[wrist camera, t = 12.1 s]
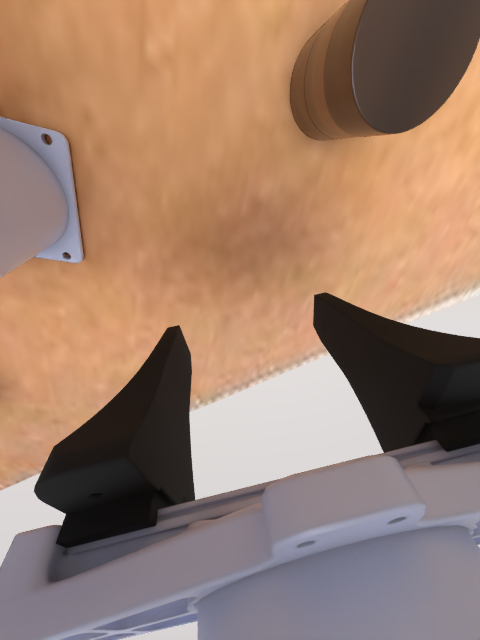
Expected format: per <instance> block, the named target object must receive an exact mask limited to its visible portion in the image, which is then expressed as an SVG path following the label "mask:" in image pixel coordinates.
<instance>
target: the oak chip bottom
mask: <svg viewBox="0 0 480 640" xmlns="http://www.w3.org/2000/svg"><path fill="white" fill-rule="evenodd" d="M328 21H329V20H328ZM328 21H327V22H328ZM327 22H326V23H327ZM326 23H325V24H326ZM325 24H324V25H323V26H322V27H321V28H320V29H319V30H318V31H317V32H316V33H315V34H314V35H313V36H312V37H311V38H310V39H309V40H308V42H307V43H306V44H305V46H304V47H303V49H302V50H301V52H300V54H299V56H298V58H297V61H296V63H295V66H294V70H293V73H292V78H291V85H290V103H291V109H292V113H293V116H294V119H295V121H296V123H297V125H298V126H299V128H300V129H301V130H302V131H303V132H304V133H305V134H306V135H307V136H309V137H310V138H313V139H316V140H332V139H337V138H332V137H329V136H327V135H325V134H323V133H322V132H321V131H320V130H319V129H318V128H317V127H316V126H315V124H314V123H313V121H312V119H311V117H310V115H309V112H308V109H307V105H306V99H305V75H306V68H307V64H308V59H309V56H310V53H311V50H312V48H313V45H314V43H315V41H316V39H317V37H318V35H319V33H320V32H321V30H322V29H323V27H324V26H325Z"/></svg>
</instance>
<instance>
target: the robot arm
mask: <svg viewBox="0 0 480 640" xmlns="http://www.w3.org/2000/svg"><path fill="white" fill-rule="evenodd" d="M46 134H48V135H49V136H50V137H51V139H52V143H51V144H48V143H47V142H46V141H45V135H46ZM65 252H66V253H69V254H70V256H71V257H67V256H66V255H65ZM33 257H36V258H43V259H50V260H57V261H64V262H71V263H80V262H81V261H82V260H83V259H84V254H83V247H82V239H81V232H80V224H79V216H78V209H77V201H76V194H75V186H74V179H73V171H72V163H71V156H70V148H69V143H68V140H67V138H66V137H65V136H64V135H63V134H62V133H60V132H58V131H54V130H50V129H46V128H43V127H39V126H35V125H31V124H27V123H23V122H20V121H16V120H12V119H8V118H4V117H1V116H0V278H2V277H3V276H5V275H7V274H8V273H10V272H11V271H13V270H14V269H16V268H17V267H19V266H20V265H22V264H23V263H25V262H27V261H28V260H30V259H31V258H33ZM313 326H314V328H315V330H316V332H317V334H318V336H319V338H320V340H321V342H322V343H323V345H324V346H325V347H326V349H327V350H328V352H329V353H330V355H331V356H332V357H333V359H334V360H335V362H336V363H337V365H338V366H339V367H340V369H341V370H342V372H343V373H344V375H345V376H346V378H347V379H348V381H349V383H350V385H351V387H352V388H353V390H354V392H355V394H356V396H357V398H358V400H359V402H360V404H361V405H362V407H363V409H364V411H365V413H366V415H367V417H368V419H369V421H370V423H371V426H372V428H373V429H374V432H375V434H376V436H377V438H378V440H379V443H380V445H381V447H382V450H383V452H384V453H382V454H378V455H371V456H366V457H361V458H357V459H353V460H349V461H345V462H341V463H337V464H333V465H330V466H326V467H321V468H318V469H313V470H310V471H306V472H301V473H297V474H294V475H290V476H287V477H285V478H282V479H278V480H274V481H270V482H266V483H262V484H258V485H254V486H250V487H246V488H242V489H238V490H234V491H230V492H227V493H222V494H218V495H214V496H210V497H206V498H202V499H199V500H195V493H194V483H193V471H192V458H191V443H190V424H189V407H190V392H191V375H192V367H191V354H190V351H189V349H188V346H187V344H186V341H185V339H184V336H183V333H182V331H181V328H180V326H179V325H178V326H174V327H169V328H167V330H166V331H165V333H164V334H163V336H162V337H161V339H160V341H159V342H158V344H157V345H156V347H155V348H154V350H153V351H152V353H151V354H150V356H149V357H148V359H147V360H146V361H145V363H144V364H143V365H142V367H141V368H140V370H139V371H138V372H137V373H136V375H135V376H134V377H133V378H132V379H131V380H130V381H129V383H128V384H127V385H126V386H125V387H124V388H123V389H122V390H121V391H120V392H119V393H118V394H117V395H116V396H115V397H114V398H113V399H112V400H111V401H110V402H109V403H108V404H107V405H106V406H105V407H104V408H102V409H101V410H100V411H99V412H98V413H97V414H96V415H94V416H93V417H92V418H91V419H90V420H88V421H87V422H86V423H85V424H83V425H82V426H81V427H80V428H78V429H77V430H76V431H74V432H73V433H72V434H70V435H69V436H68V437H66V438H65V439H64V440H62V441H61V442H60V443H58V444H57V445H55V446H54V448H53V449H52V451H51V454H50V456H49V458H48V460H47V462H46V464H45V466H44V468H43V470H42V472H41V474H40V477H39V479H38V481H37V483H36V485H35V489H34V492H35V494H36V496H37V497H38V499H40V500H41V501H42V502H44V503H46V504H48V505H50V506H52V507H54V508H56V509H58V510H59V511H61V512H63V513H65V514H66V516H65V519H64V521H63V525H62V526H61V525H51V526H46V527H42V528H38V529H34V530H30V531H26V532H22V533H19V534H17V535H16V536H15V537H14V540H13V542H12V544H11V546H10V548H9V550H8V552H7V554H6V557H5V559H4V561H3V563H2V565H1V567H0V640H118V639H123V638H127V637H131V636H136V635H140V634H144V633H148V632H153V631H157V630H161V629H166V628H170V627H174V626H179V625H183V624H187V623H192V622H196V621H198V640H480V548H479V547H478V546H477V545H478V544H480V338H473V337H465V336H458V335H452V334H446V333H441V332H436V331H431V330H427V329H423V328H418V327H414V326H410V325H407V324H403V323H400V322H397V321H393V320H390V319H387V318H384V317H382V316H379V315H376V314H374V313H371V312H369V311H366V310H364V309H361V308H359V307H357V306H355V305H352V304H350V303H348V302H346V301H344V300H342V299H340V298H337V297H335V296H333V295H331V294H328V293H326V292H325V293H321V294H317V295H314V320H313Z"/></svg>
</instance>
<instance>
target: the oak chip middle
mask: <svg viewBox="0 0 480 640" xmlns="http://www.w3.org/2000/svg"><path fill="white" fill-rule="evenodd" d="M349 2H350V0H348V1H347V2H346V3H345V4H344V5H343V6H342V7H341V8H340V9H339V10H338V11H337V12H336V13H335V14H334V15H333V16H332V17H331V18H330V19H329V21H328V22H327V23H326V24H325V26H324V27H323V29H322V30H321V32H320V33H319V35H318V37H317V39H316V41H315V43H314V45H313V48H312V50H311V53H310V56H309V59H308V64H307V68H306V75H305V99H306V105H307V109H308V112H309V115H310V117H311V119H312V121H313V123H314V124H315V126H316V127H317V128H318V129H319V130H320V131H321V132H322V133H323V134H325V135H327V136H329V137H332V138H337V139H342V138H353V137H357V136H353V135H350V134H348V133H346V132H345V131H343V130H342V129H341V128H340V127H339V126H338V125H337V124H336V122H335V121H334V119H333V118H332V116H331V114H330V111H329V108H328V105H327V102H326V97H325V89H324V71H325V62H326V56H327V51H328V47H329V43H330V40H331V37H332V34H333V32H334V29H335V27H336V25H337V22H338V20H339V18H340V16H341V15H342V13H343V11H344V9H345V8H346V6H347V5H348V3H349Z"/></svg>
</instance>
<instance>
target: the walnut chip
mask: <svg viewBox="0 0 480 640" xmlns="http://www.w3.org/2000/svg"><path fill="white" fill-rule="evenodd" d="M479 39H480V0H350V2H349V3H348V5H347V6H346V8H345V9H344V11H343V13H342V15H341V16H340V18H339V20H338V22H337V25H336V27H335V29H334V32H333V34H332V37H331V40H330V43H329V47H328V51H327V56H326V62H325V71H324V89H325V97H326V102H327V105H328V108H329V111H330V114H331V116H332V118H333V119H334V121H335V122H336V124H337V125H338V126H339V127H340V128H341V129H342V130H343V131H345V132H346V133H348V134H350V135H353V136H357V137H367V136H378V135H389V134H398V133H402V132H406V131H408V130H411V129H413V128H415V127H417V126H418V125H420V124H422V123H423V122H424V121H426V120H427V119H428V118H430V117H431V116H432V115H433V114H434V113H435V112H436V111H437V110H438V109H439V108H440V107H441V106H442V105H443V104H444V103H445V102H446V101H447V99H448V98H449V97H450V95H451V94H452V93H453V91H454V90H455V88H456V87H457V85H458V84H459V82H460V81H461V79H462V77H463V76H464V74H465V72H466V70H467V68H468V66H469V64H470V62H471V60H472V57H473V55H474V53H475V50H476V48H477V45H478V42H479Z"/></svg>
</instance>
